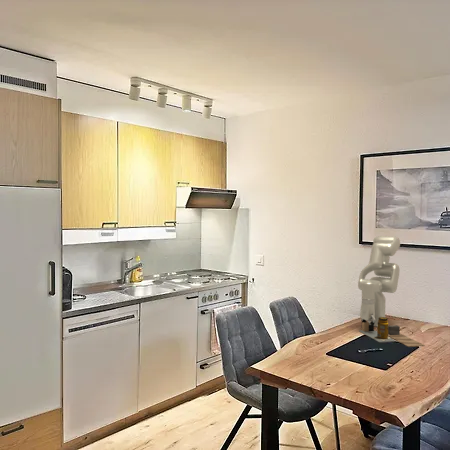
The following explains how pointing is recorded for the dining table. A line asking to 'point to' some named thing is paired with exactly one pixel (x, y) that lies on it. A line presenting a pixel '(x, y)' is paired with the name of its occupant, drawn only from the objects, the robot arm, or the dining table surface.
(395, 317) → the dining table surface
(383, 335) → the condiment
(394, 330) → the strip empty
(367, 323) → the strip
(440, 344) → the dining table surface
